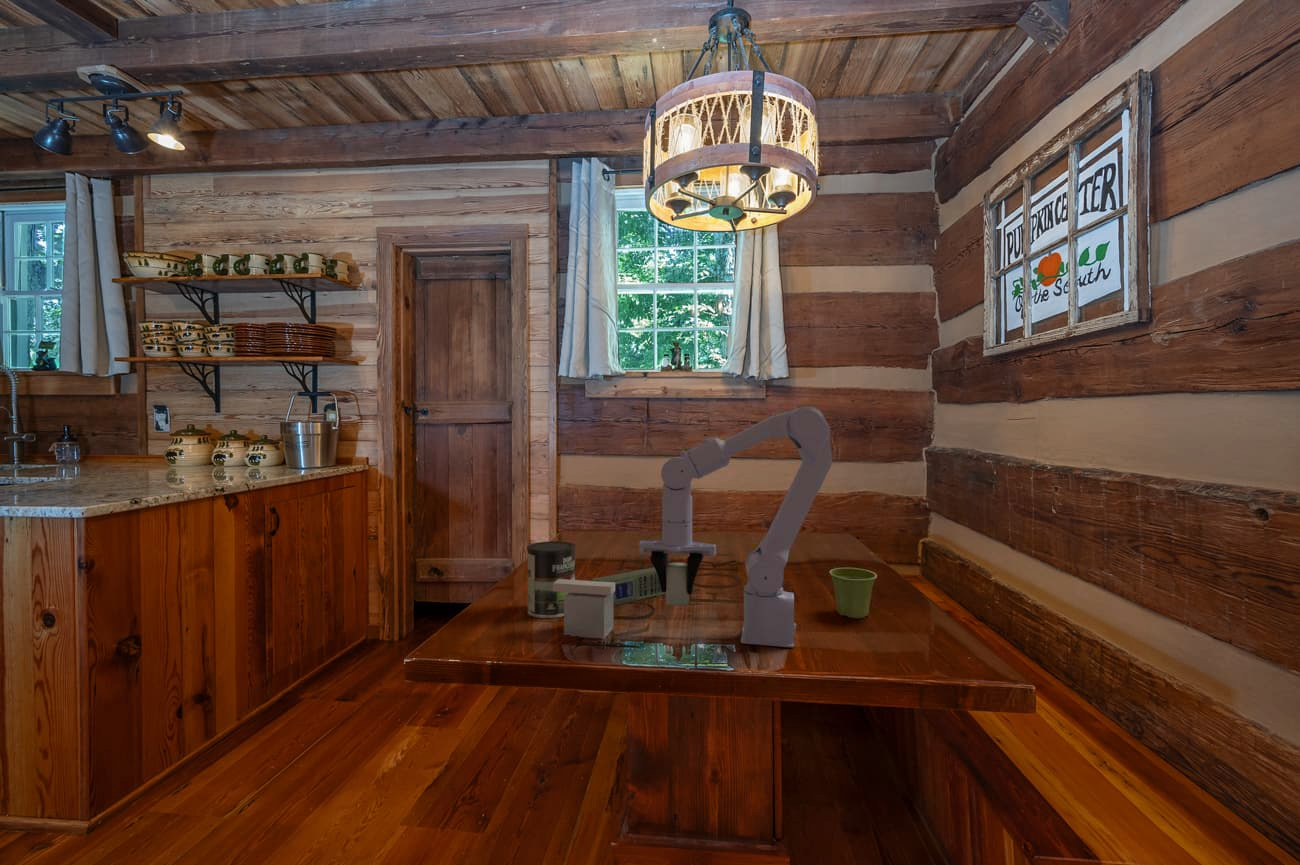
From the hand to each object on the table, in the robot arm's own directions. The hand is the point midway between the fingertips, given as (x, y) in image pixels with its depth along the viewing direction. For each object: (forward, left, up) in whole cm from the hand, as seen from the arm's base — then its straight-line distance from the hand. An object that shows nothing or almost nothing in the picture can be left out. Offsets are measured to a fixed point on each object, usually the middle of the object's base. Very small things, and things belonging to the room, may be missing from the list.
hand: (677, 591), depth 107 cm
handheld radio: (+16, -17, -9) cm, 25 cm away
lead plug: (0, 0, -2) cm, 2 cm away
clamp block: (+17, +2, -8) cm, 19 cm away
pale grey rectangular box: (+18, +2, 0) cm, 18 cm away
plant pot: (-34, -20, -8) cm, 40 cm away
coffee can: (+29, -8, -8) cm, 31 cm away
